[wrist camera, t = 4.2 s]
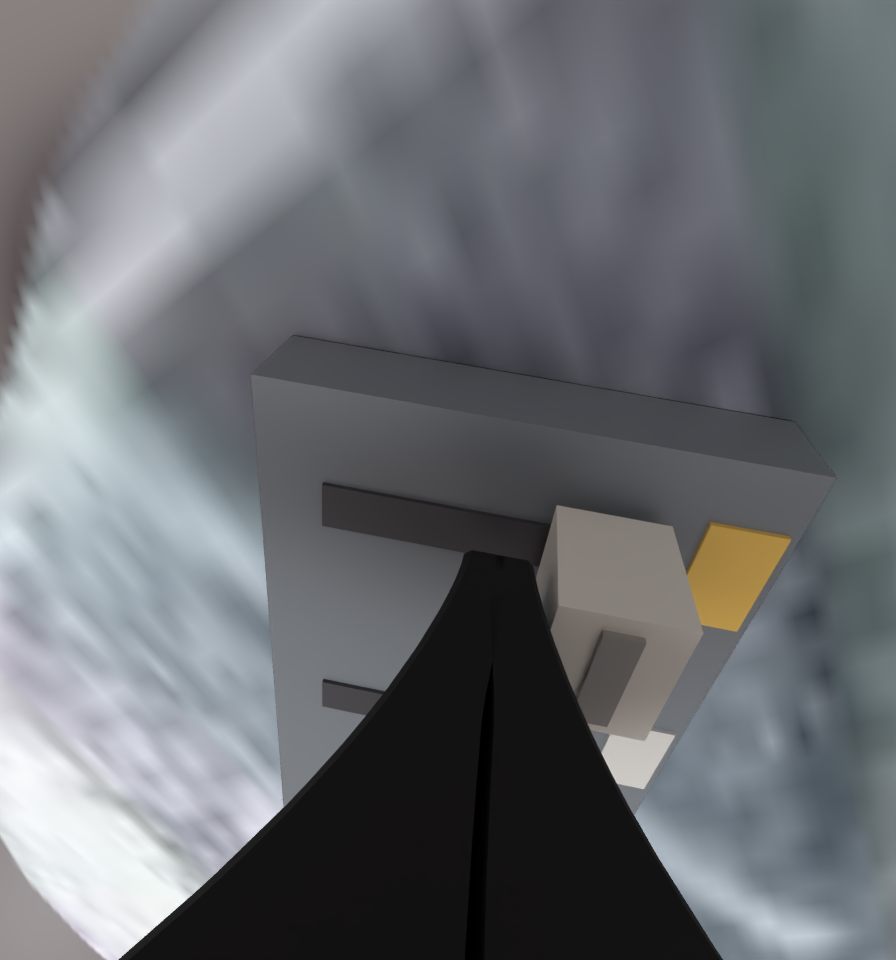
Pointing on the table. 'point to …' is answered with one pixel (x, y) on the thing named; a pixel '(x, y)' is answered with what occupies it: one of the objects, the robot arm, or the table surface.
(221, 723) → the table surface
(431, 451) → the switch panel
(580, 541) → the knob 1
